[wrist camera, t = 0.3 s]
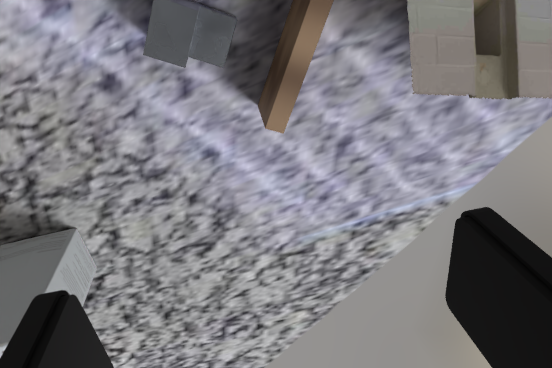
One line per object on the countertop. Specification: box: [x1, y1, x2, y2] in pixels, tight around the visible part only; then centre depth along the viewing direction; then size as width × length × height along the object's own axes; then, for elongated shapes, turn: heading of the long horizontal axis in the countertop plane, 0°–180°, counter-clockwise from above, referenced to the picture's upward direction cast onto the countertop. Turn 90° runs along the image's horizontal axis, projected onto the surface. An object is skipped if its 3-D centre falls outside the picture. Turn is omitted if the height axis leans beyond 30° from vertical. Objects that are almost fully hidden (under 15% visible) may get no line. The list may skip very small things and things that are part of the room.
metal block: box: [143, 0, 237, 68], centre depth 30 cm, size 4×6×6 cm, turn 71°
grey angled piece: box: [407, 0, 552, 99], centre depth 32 cm, size 16×9×15 cm
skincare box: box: [0, 228, 97, 358], centre depth 35 cm, size 8×6×15 cm
